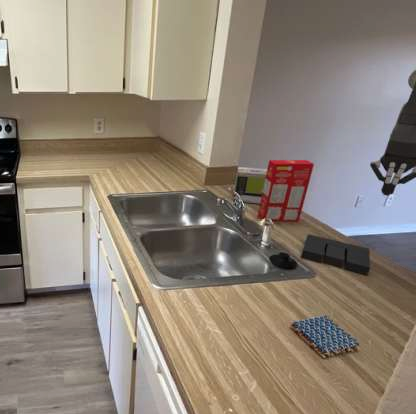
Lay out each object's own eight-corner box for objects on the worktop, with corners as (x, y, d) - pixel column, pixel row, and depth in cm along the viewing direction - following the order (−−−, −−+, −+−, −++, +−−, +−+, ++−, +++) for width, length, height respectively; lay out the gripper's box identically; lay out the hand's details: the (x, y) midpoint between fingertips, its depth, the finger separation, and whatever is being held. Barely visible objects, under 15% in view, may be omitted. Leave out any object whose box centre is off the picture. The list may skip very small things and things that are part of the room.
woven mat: (287, 326, 83) (289, 320, 82) (322, 319, 85) (324, 313, 85) (321, 359, 74) (324, 352, 73) (360, 350, 76) (363, 344, 75)
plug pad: (342, 255, 113) (345, 248, 112) (341, 268, 107) (344, 260, 105) (325, 251, 116) (327, 244, 115) (323, 263, 109) (325, 255, 108)
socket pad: (366, 256, 113) (369, 248, 112) (366, 275, 103) (370, 267, 101) (305, 241, 123) (307, 233, 122) (300, 257, 112) (302, 249, 111)
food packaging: (292, 216, 143) (306, 160, 133) (298, 221, 138) (314, 163, 128) (257, 216, 143) (269, 160, 133) (262, 221, 138) (275, 163, 128)
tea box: (266, 198, 162) (272, 169, 156) (267, 205, 154) (274, 175, 148) (233, 194, 167) (238, 165, 161) (233, 201, 159) (238, 171, 153)
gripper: (378, 138, 97) (359, 193, 104) (440, 144, 90) (415, 203, 97) (377, 134, 102) (359, 187, 109) (435, 139, 95) (412, 195, 102)
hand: (386, 194), depth 103 cm, fingers closed
